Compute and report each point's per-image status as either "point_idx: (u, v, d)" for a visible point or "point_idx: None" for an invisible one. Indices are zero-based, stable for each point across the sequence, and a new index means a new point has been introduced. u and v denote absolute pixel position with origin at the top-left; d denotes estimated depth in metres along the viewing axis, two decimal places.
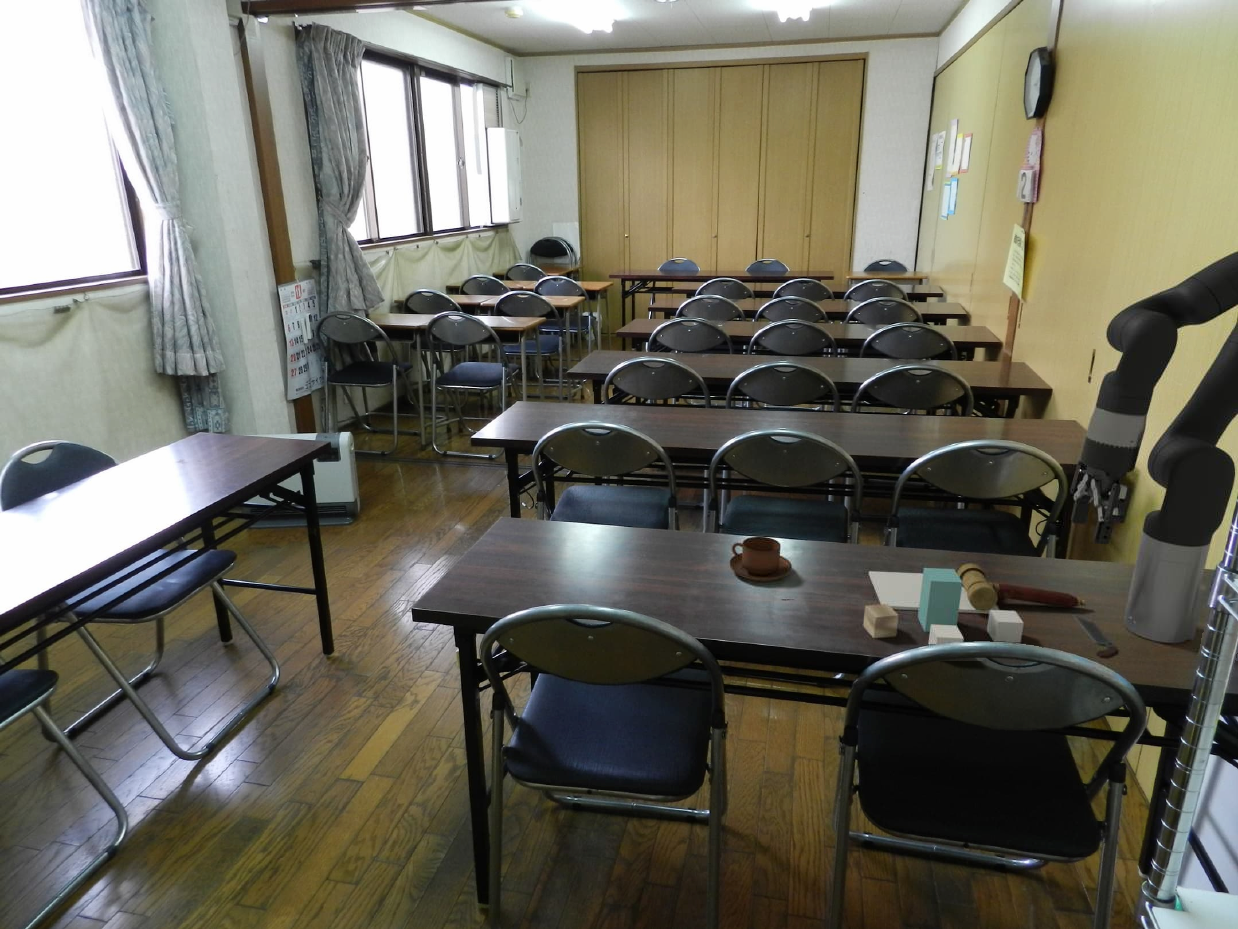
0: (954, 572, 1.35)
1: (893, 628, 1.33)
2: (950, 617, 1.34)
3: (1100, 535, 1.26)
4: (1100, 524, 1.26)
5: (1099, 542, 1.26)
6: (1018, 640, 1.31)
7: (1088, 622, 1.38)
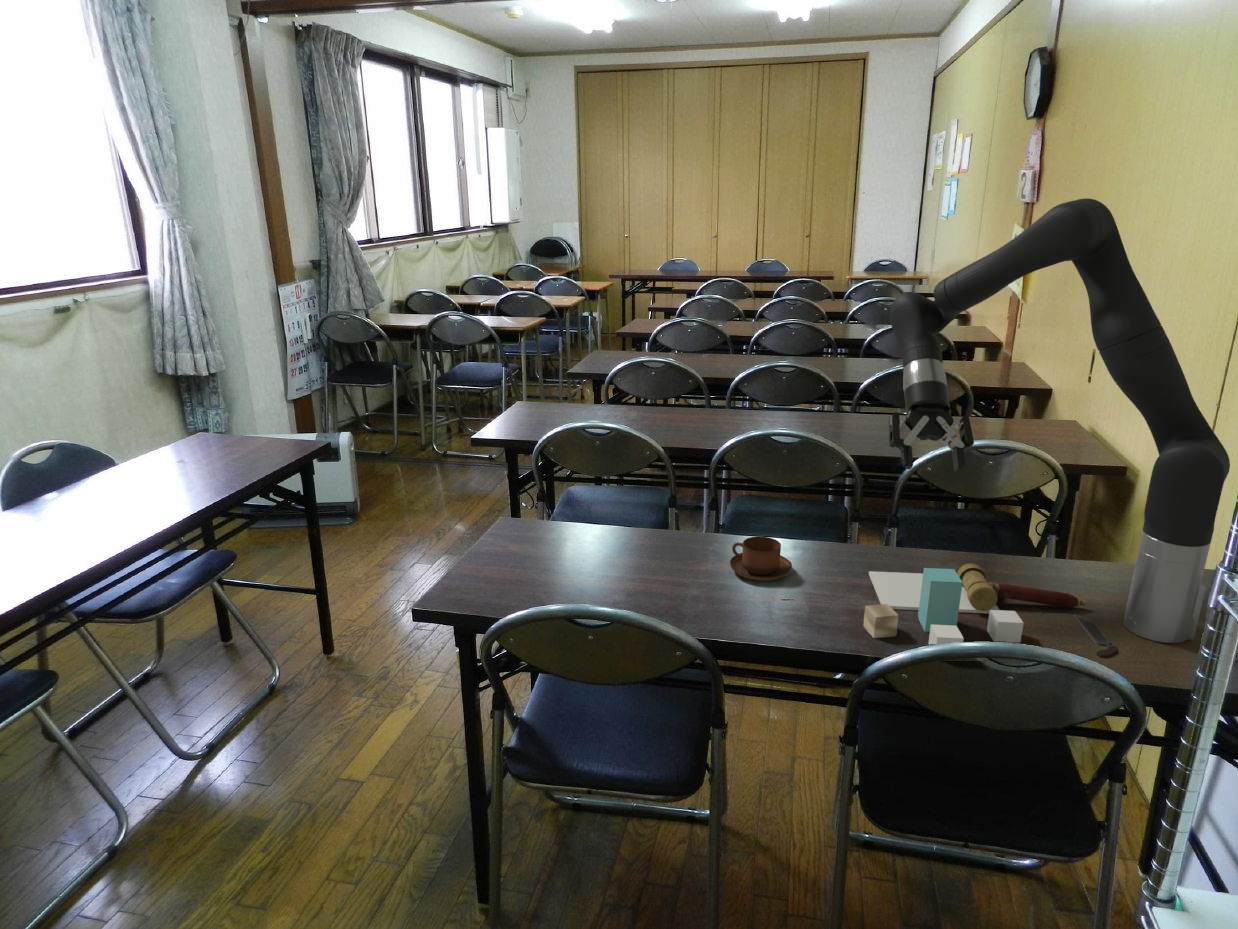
0: (954, 572, 1.35)
1: (893, 628, 1.33)
2: (950, 617, 1.34)
3: None
4: None
5: (906, 467, 1.42)
6: (1018, 640, 1.31)
7: (1088, 622, 1.38)
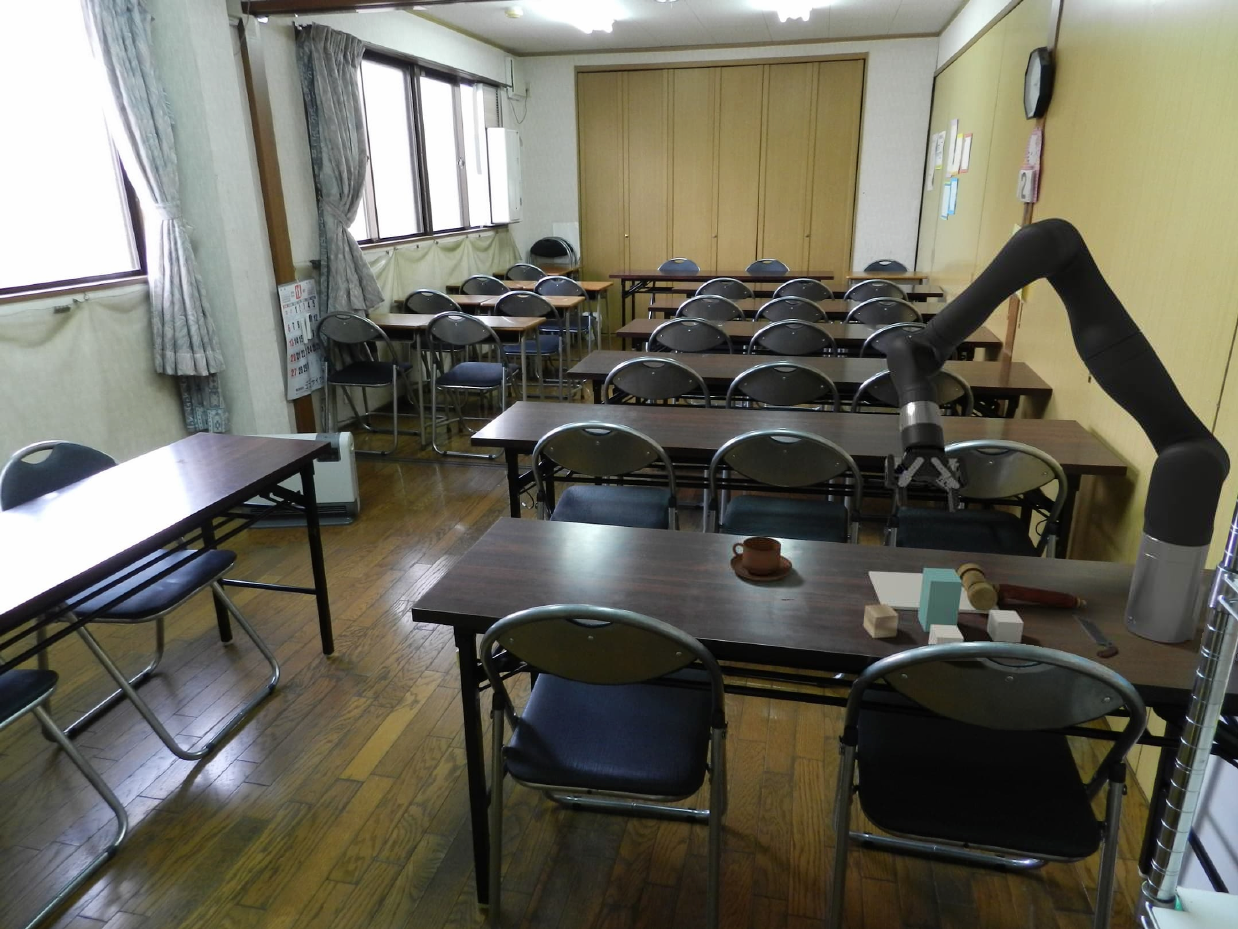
0: (954, 572, 1.35)
1: (893, 628, 1.33)
2: (950, 617, 1.34)
3: None
4: None
5: (901, 508, 1.45)
6: (1018, 640, 1.31)
7: (1088, 622, 1.38)
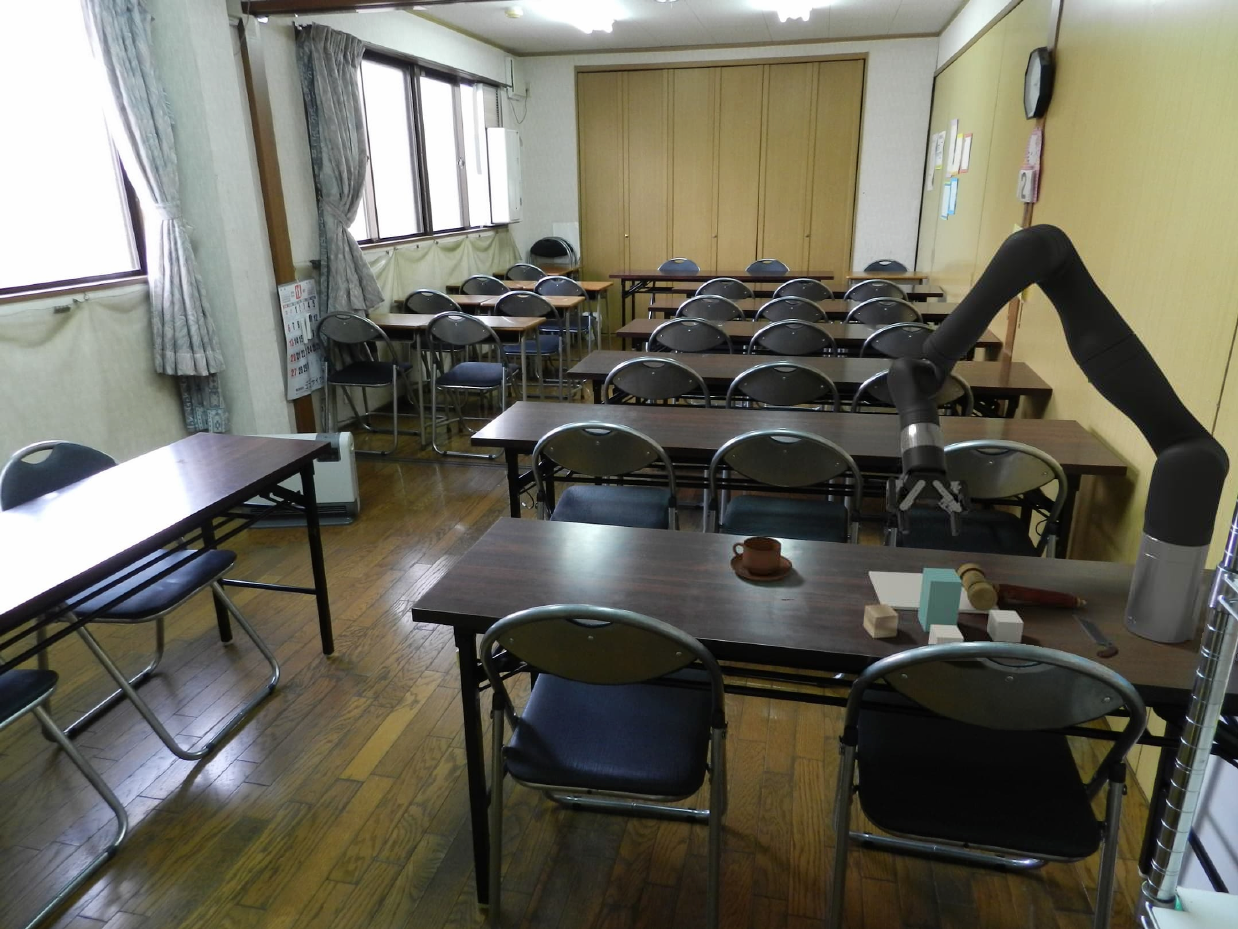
0: (954, 572, 1.35)
1: (893, 628, 1.33)
2: (950, 617, 1.34)
3: None
4: None
5: (903, 531, 1.43)
6: (1018, 640, 1.31)
7: (1088, 622, 1.38)
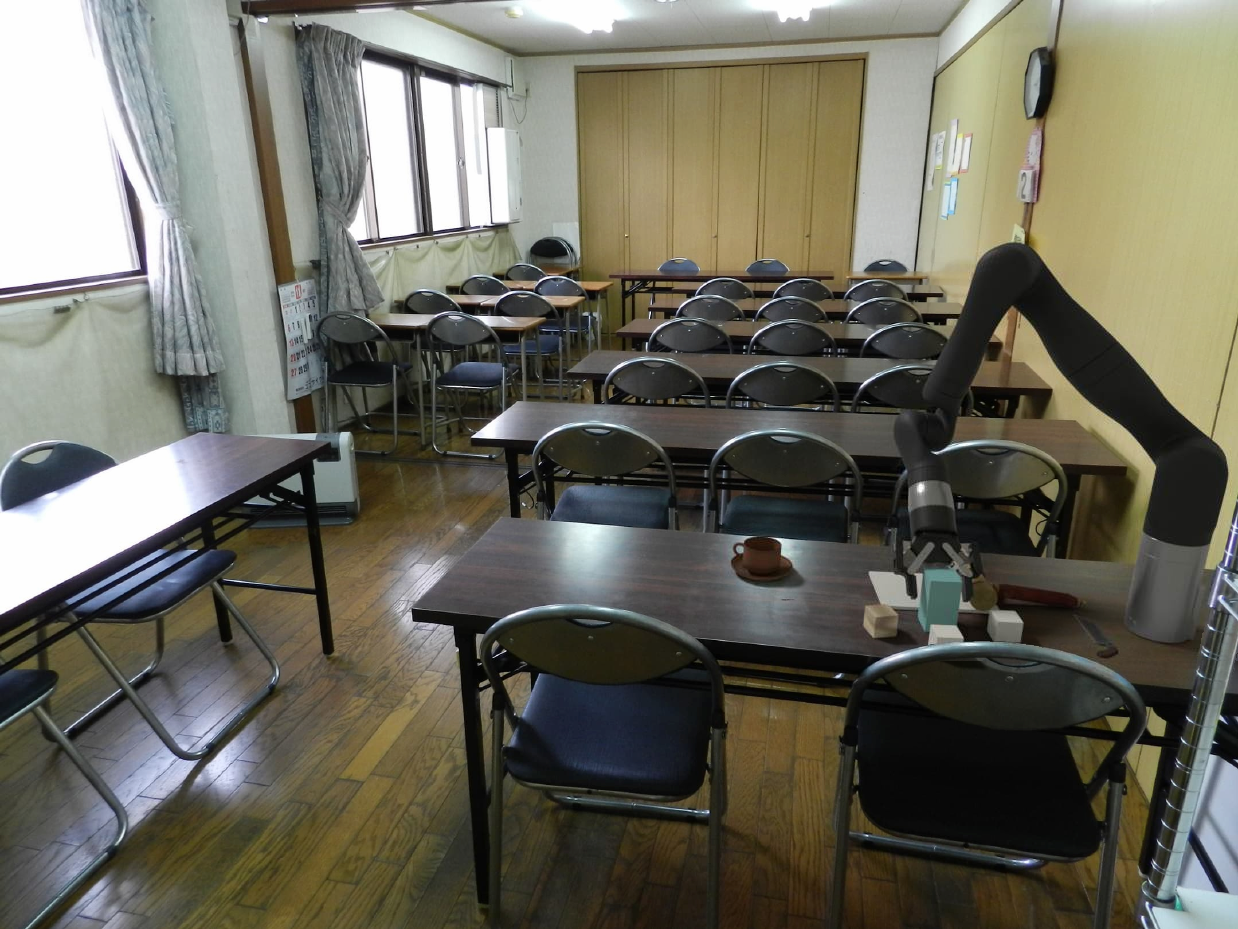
0: (954, 572, 1.35)
1: (893, 628, 1.33)
2: (950, 617, 1.34)
3: (907, 590, 1.37)
4: None
5: (911, 597, 1.36)
6: (1018, 640, 1.31)
7: (1088, 622, 1.38)
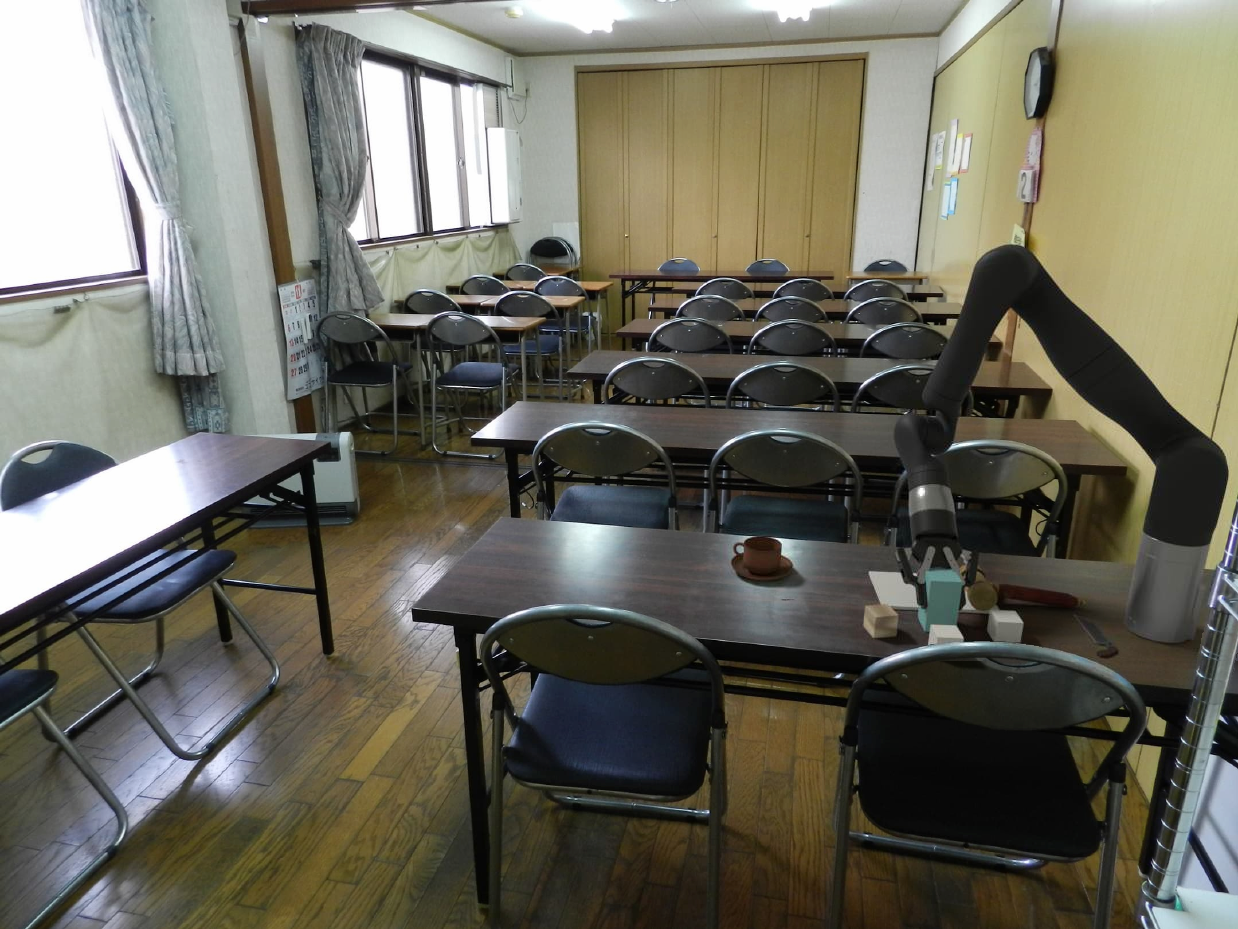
0: (954, 572, 1.35)
1: (893, 628, 1.33)
2: (950, 617, 1.34)
3: None
4: None
5: (922, 607, 1.35)
6: (1018, 640, 1.31)
7: (1088, 622, 1.38)
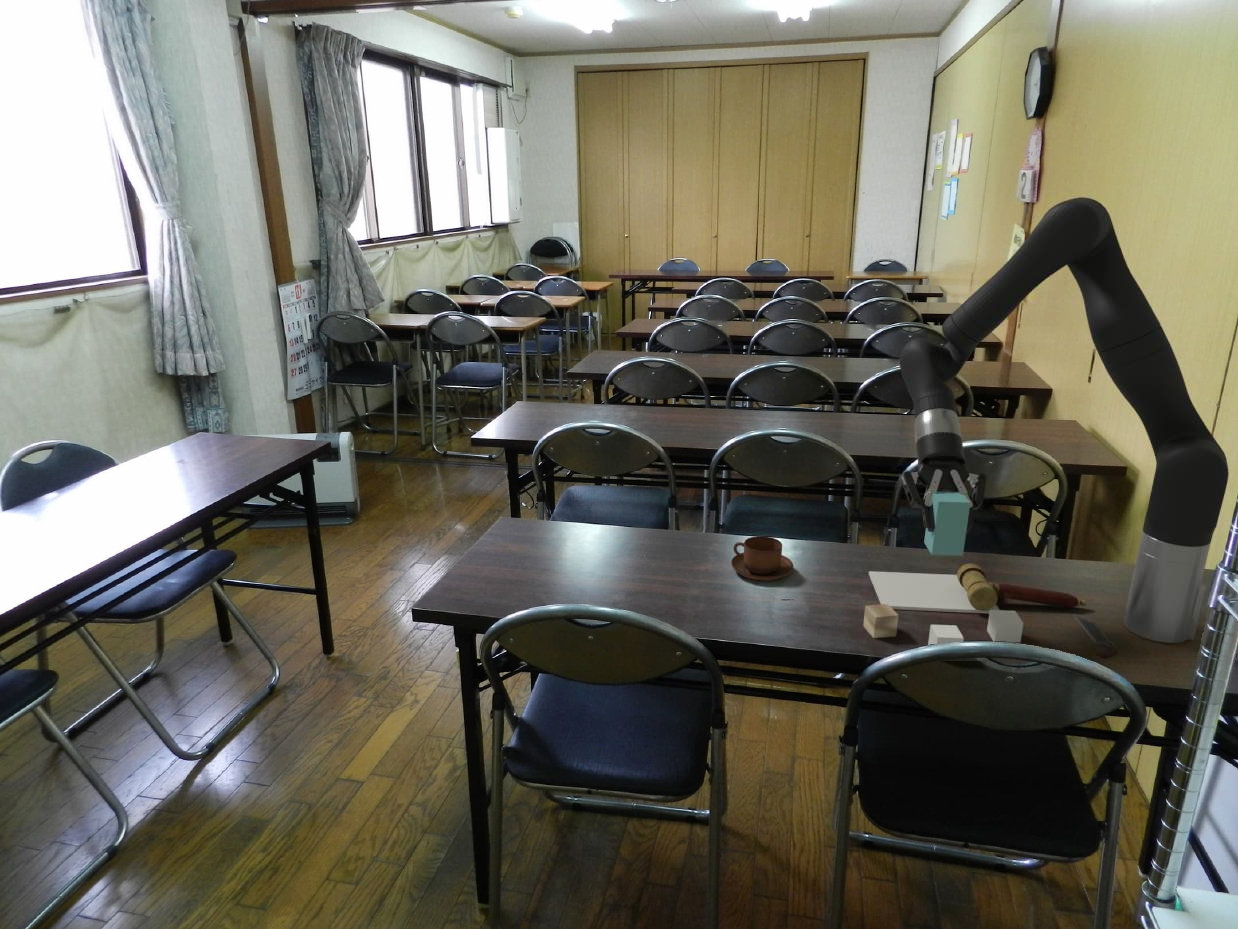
0: (961, 494, 1.33)
1: (893, 628, 1.33)
2: (957, 539, 1.32)
3: None
4: None
5: (929, 529, 1.33)
6: (1018, 640, 1.31)
7: (1088, 622, 1.38)
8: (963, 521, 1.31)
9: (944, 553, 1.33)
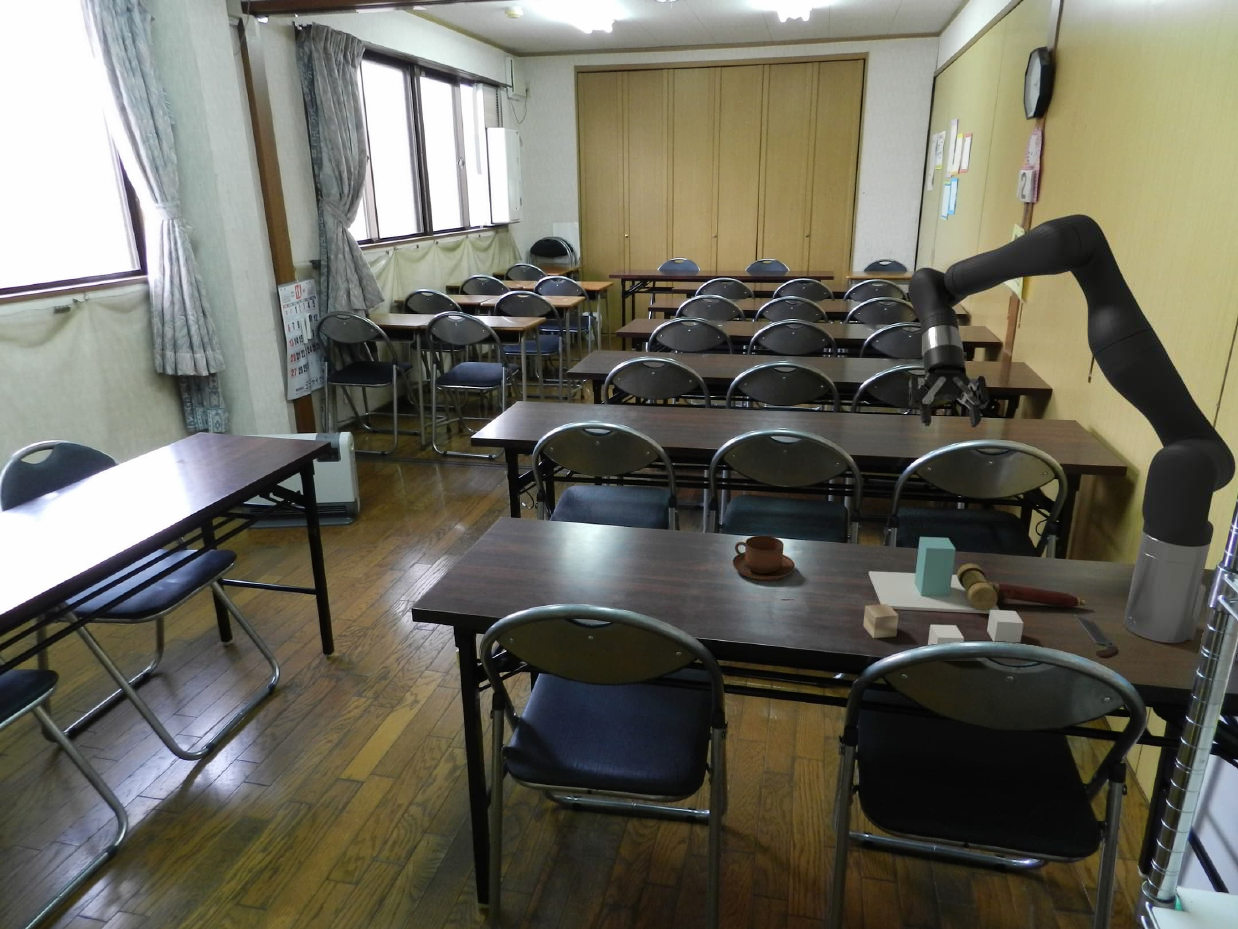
0: (948, 540, 1.46)
1: (893, 628, 1.33)
2: (944, 582, 1.45)
3: None
4: None
5: (925, 424, 1.53)
6: (1018, 640, 1.31)
7: (1088, 622, 1.38)
8: (949, 566, 1.44)
9: (932, 594, 1.46)
